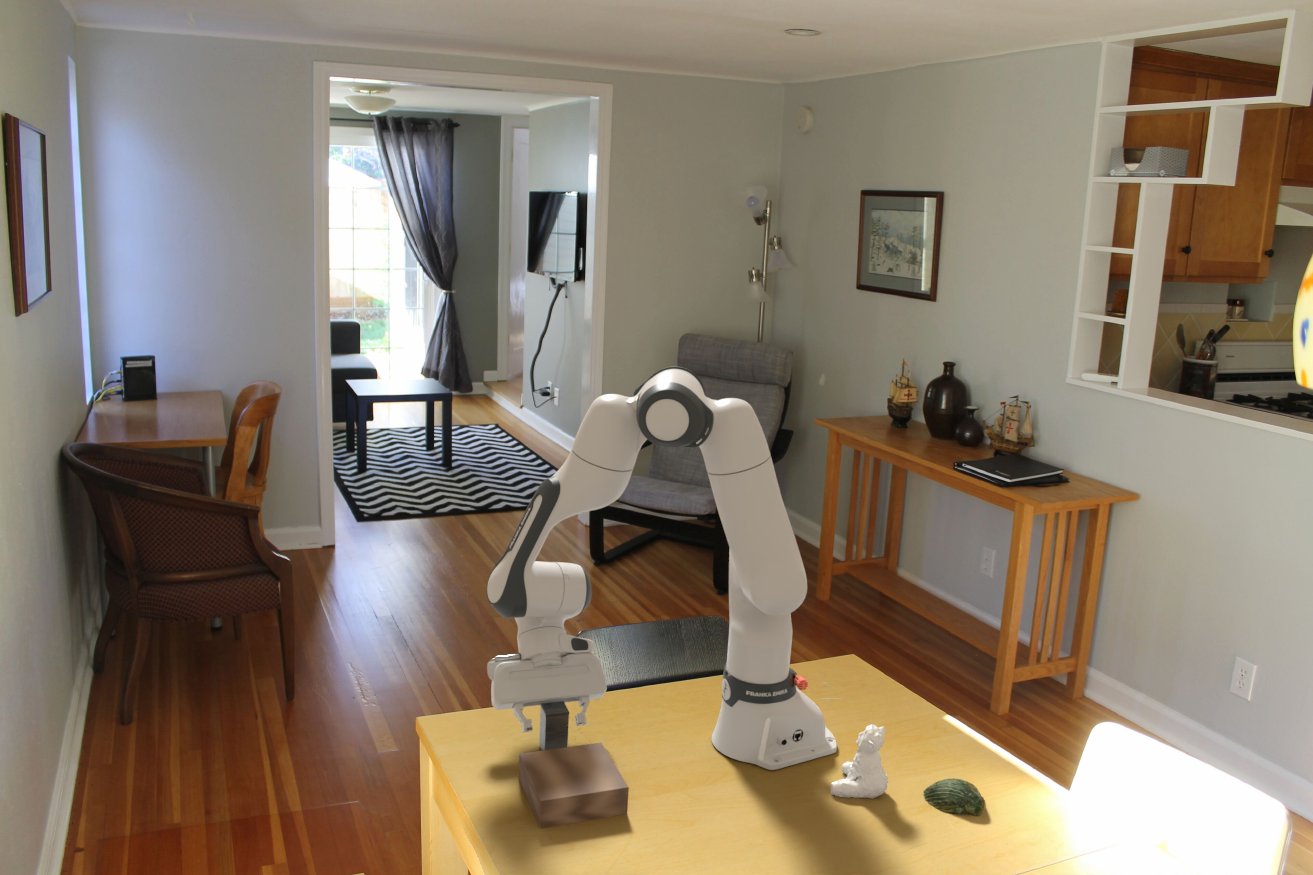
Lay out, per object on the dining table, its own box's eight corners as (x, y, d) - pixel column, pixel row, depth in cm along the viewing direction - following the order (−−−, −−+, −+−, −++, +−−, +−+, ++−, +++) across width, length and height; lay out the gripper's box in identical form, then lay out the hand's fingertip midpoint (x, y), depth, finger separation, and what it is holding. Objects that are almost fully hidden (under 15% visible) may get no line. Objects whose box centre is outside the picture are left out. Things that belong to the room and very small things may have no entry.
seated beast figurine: (843, 768, 174) (850, 705, 172) (893, 782, 171) (901, 718, 168) (828, 795, 166) (835, 728, 164) (879, 810, 163) (887, 743, 160)
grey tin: (561, 742, 177) (563, 700, 176) (567, 754, 174) (569, 712, 172) (538, 745, 176) (540, 703, 174) (544, 757, 172) (545, 714, 171)
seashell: (958, 757, 172) (1001, 789, 164) (957, 778, 173) (1000, 811, 165) (912, 773, 168) (954, 806, 160) (911, 794, 169) (952, 828, 161)
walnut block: (599, 769, 171) (601, 742, 169) (627, 815, 158) (628, 786, 157) (518, 781, 165) (519, 753, 164) (539, 830, 153) (541, 800, 152)
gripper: (488, 650, 174) (497, 729, 167) (601, 640, 181) (615, 715, 174) (483, 662, 179) (491, 740, 172) (594, 652, 186) (606, 726, 179)
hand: (554, 727), depth 173 cm, fingers open, 8 cm apart
